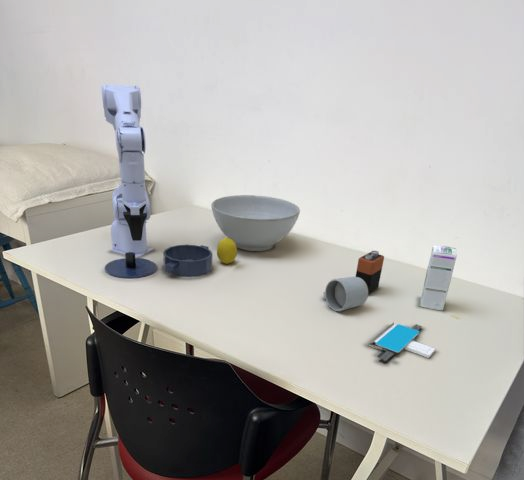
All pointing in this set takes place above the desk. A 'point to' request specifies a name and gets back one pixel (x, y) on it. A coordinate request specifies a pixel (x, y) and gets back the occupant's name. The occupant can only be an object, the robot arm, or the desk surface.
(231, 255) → the lemon
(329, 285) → the ceramic mug
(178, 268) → the pot
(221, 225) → the decorative bowl
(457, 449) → the desk surface
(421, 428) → the desk surface
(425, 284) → the syrup box
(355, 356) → the desk surface
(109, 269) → the pot lid
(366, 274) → the battery
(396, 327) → the blue flat gadget
